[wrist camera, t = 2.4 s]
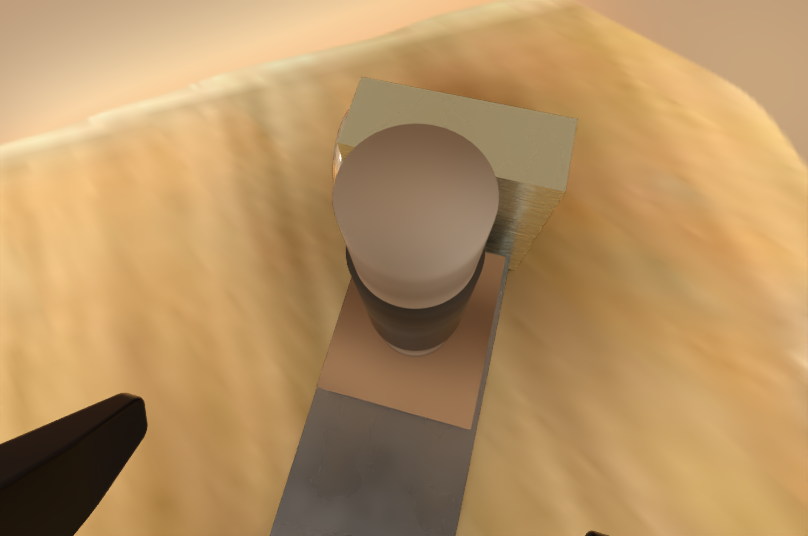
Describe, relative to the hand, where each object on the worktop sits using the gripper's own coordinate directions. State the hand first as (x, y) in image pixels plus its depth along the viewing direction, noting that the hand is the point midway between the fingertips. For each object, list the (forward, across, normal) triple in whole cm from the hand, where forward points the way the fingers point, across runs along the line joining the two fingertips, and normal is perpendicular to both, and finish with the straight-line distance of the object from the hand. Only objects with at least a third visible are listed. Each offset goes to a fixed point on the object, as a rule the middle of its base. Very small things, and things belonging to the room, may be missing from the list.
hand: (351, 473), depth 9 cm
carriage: (+11, 0, +4) cm, 11 cm away
